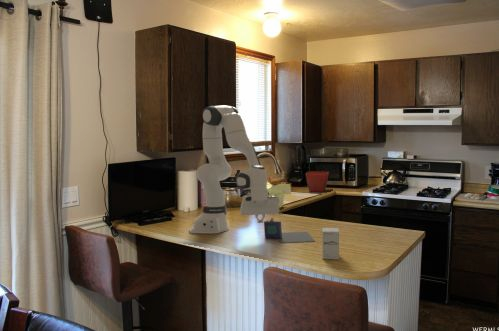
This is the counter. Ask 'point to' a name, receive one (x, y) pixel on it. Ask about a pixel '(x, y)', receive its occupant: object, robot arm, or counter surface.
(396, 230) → the counter surface
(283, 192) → the slatted curved stool
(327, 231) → the supplement box
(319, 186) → the plant pot
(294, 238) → the mat
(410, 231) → the counter surface
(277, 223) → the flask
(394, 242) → the counter surface
